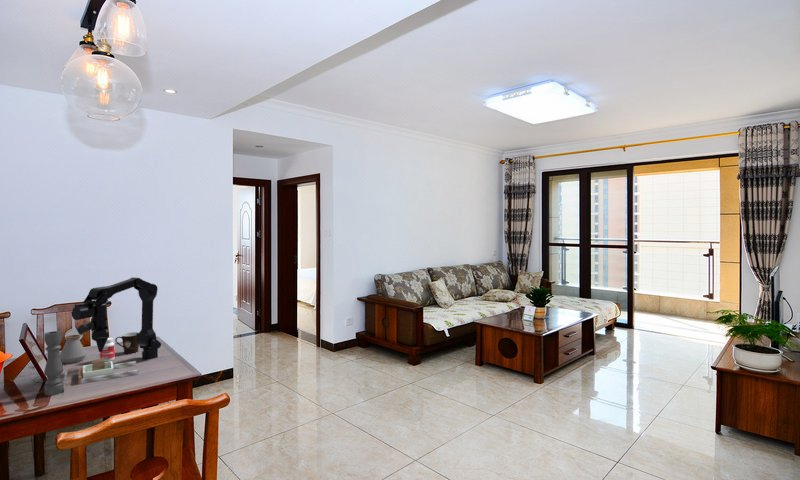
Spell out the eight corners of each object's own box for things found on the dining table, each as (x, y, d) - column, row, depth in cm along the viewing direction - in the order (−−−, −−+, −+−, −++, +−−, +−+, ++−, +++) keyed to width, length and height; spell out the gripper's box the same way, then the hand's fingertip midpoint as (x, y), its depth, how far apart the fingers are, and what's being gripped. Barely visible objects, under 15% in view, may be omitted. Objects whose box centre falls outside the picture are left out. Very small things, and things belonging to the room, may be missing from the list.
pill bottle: (100, 362, 213) (99, 341, 213) (100, 359, 218) (99, 338, 218) (114, 360, 216) (114, 339, 216) (114, 357, 221) (114, 336, 221)
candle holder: (51, 389, 177) (50, 330, 176) (67, 389, 178) (66, 330, 177) (40, 395, 171) (39, 334, 170) (56, 395, 172) (55, 334, 171)
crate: (112, 369, 199) (112, 361, 199) (113, 377, 190) (113, 368, 190) (83, 374, 193) (83, 365, 193) (83, 382, 183) (82, 373, 183)
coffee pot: (78, 364, 210) (78, 334, 210) (53, 365, 208) (52, 335, 208) (102, 351, 231) (101, 324, 231) (79, 352, 229) (78, 325, 229)
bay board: (135, 367, 207) (135, 359, 206) (138, 376, 194) (138, 368, 194) (79, 376, 194) (79, 367, 194) (78, 387, 181) (78, 377, 181)
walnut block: (92, 372, 192) (92, 359, 192) (104, 371, 194) (104, 358, 194) (92, 375, 188) (92, 362, 188) (104, 373, 191) (104, 360, 191)
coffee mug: (144, 351, 233) (144, 333, 233) (129, 355, 225) (129, 336, 225) (128, 348, 237) (128, 331, 237) (113, 353, 229) (113, 334, 229)
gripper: (77, 314, 195) (78, 347, 196) (76, 321, 180) (77, 357, 181) (106, 311, 202) (107, 343, 202) (108, 318, 187) (109, 353, 187)
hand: (100, 349), depth 193 cm, fingers open, 9 cm apart
